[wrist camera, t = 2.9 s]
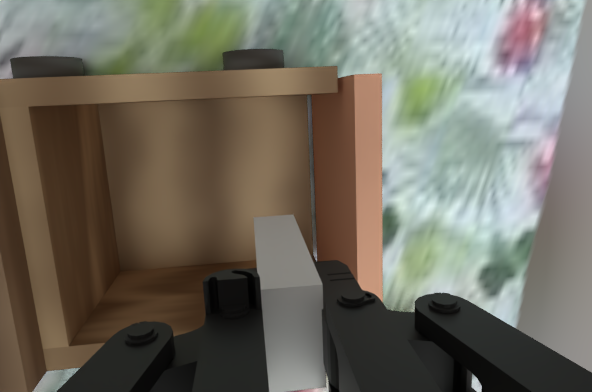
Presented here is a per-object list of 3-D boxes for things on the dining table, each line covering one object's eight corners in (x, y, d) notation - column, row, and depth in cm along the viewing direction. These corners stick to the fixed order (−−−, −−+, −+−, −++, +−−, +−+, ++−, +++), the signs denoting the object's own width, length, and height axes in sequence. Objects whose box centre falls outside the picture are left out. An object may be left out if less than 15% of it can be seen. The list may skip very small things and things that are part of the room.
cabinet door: (317, 263, 34) (358, 350, 22) (310, 84, 31) (354, 74, 19) (338, 261, 34) (390, 347, 22) (333, 83, 31) (390, 73, 19)
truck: (60, 303, 34) (-59, 440, 20) (20, 63, 30) (-160, 33, 17) (310, 281, 36) (353, 391, 22) (301, 53, 32) (346, 20, 19)
